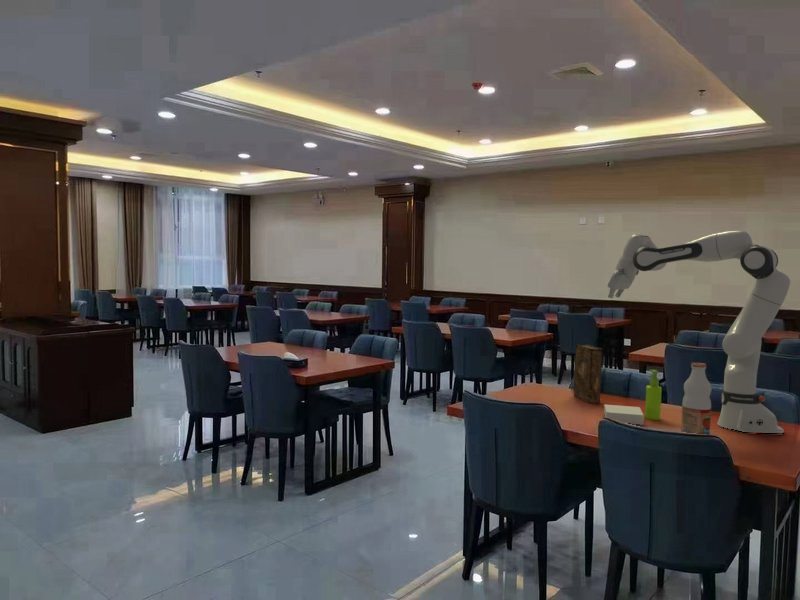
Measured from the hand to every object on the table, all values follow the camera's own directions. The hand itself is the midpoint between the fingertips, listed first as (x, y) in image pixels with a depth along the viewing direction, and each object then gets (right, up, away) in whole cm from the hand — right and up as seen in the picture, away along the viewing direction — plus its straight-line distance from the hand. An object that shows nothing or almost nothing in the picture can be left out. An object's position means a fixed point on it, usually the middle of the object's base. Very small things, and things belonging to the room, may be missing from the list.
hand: (613, 297), depth 265 cm
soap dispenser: (+10, -50, -18) cm, 54 cm away
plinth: (-4, -50, -21) cm, 55 cm away
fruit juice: (+13, -52, -48) cm, 72 cm away
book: (-8, -48, +14) cm, 51 cm away
